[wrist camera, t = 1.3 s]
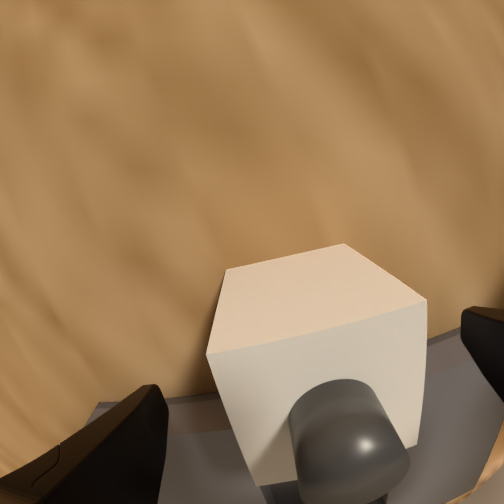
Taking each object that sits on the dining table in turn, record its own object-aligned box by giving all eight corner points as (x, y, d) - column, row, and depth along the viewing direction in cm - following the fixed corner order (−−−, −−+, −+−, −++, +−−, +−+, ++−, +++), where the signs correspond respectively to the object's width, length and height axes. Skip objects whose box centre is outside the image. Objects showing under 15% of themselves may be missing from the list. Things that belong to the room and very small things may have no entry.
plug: (343, 243, 11) (486, 344, 4) (356, 346, 12) (445, 494, 5) (226, 269, 12) (189, 426, 4) (252, 370, 12) (257, 546, 5)
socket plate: (495, 311, 12) (525, 331, 10) (460, 466, 15) (474, 488, 12) (98, 402, 13) (79, 434, 10) (187, 529, 16) (183, 555, 13)
